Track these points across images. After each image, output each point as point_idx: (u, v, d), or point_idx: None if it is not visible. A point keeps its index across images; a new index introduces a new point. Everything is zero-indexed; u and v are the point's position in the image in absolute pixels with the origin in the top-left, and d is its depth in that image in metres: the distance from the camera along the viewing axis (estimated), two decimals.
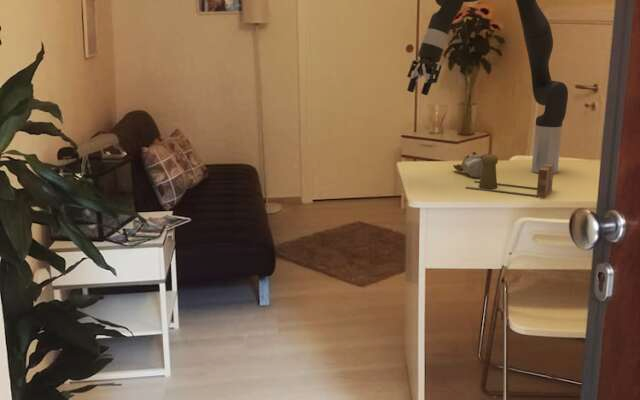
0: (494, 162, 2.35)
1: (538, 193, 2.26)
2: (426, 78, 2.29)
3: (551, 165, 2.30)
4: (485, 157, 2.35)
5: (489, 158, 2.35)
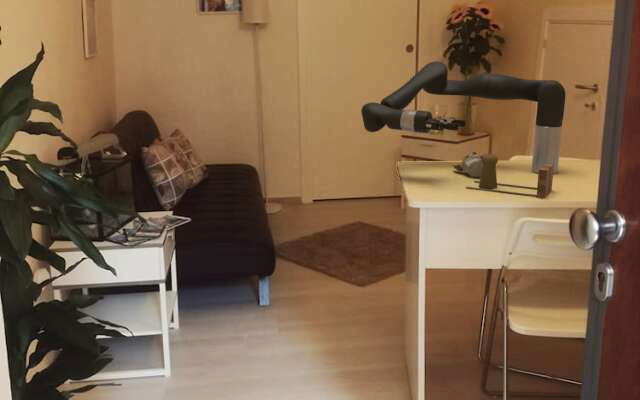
0: (494, 162, 2.35)
1: (538, 193, 2.26)
2: (451, 119, 2.44)
3: (551, 165, 2.30)
4: (485, 157, 2.35)
5: (489, 158, 2.34)
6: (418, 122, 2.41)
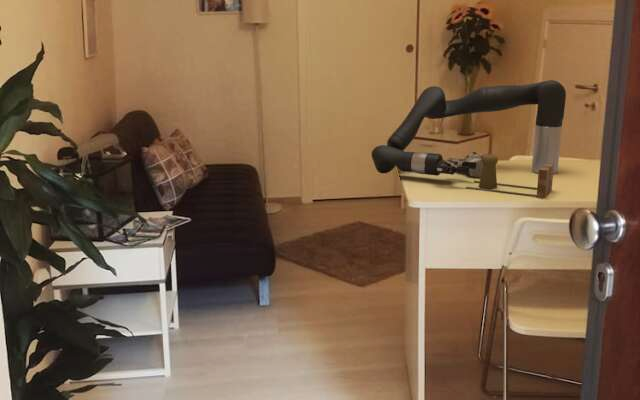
0: (494, 162, 2.35)
1: (538, 193, 2.26)
2: (462, 160, 2.46)
3: (551, 165, 2.30)
4: (485, 157, 2.35)
5: (489, 158, 2.35)
6: (429, 165, 2.43)
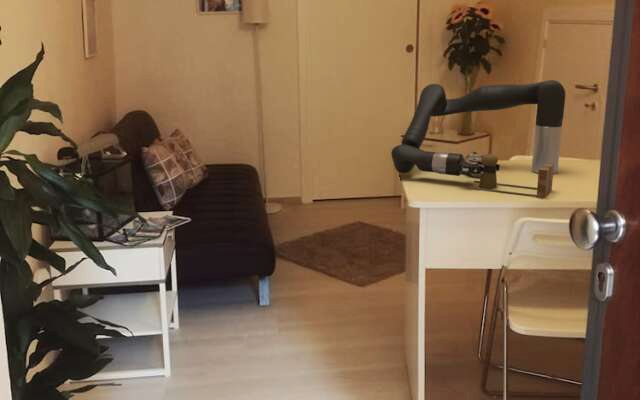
0: (494, 162, 2.35)
1: (538, 193, 2.26)
2: None
3: (551, 165, 2.30)
4: (485, 157, 2.35)
5: (489, 158, 2.34)
6: (450, 165, 2.40)
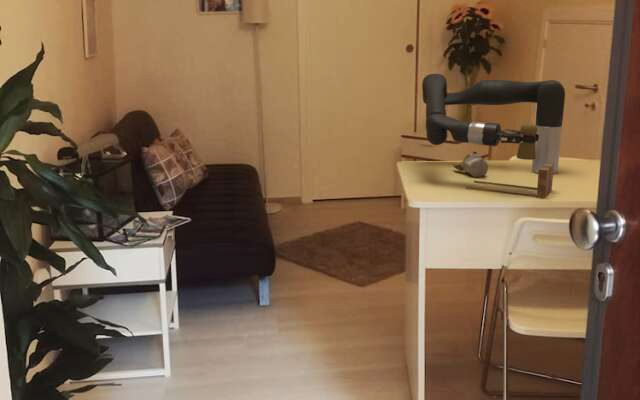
0: (534, 131, 2.27)
1: (538, 193, 2.26)
2: None
3: (551, 165, 2.30)
4: (524, 126, 2.27)
5: (529, 127, 2.26)
6: (488, 134, 2.31)
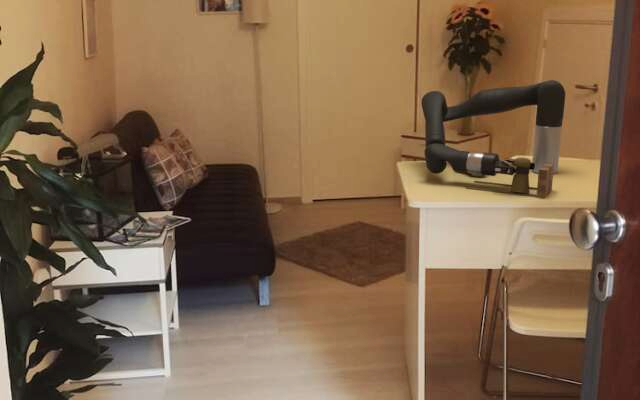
0: (527, 164, 2.28)
1: (538, 193, 2.26)
2: None
3: (551, 165, 2.30)
4: (518, 159, 2.29)
5: (522, 160, 2.28)
6: (486, 165, 2.34)
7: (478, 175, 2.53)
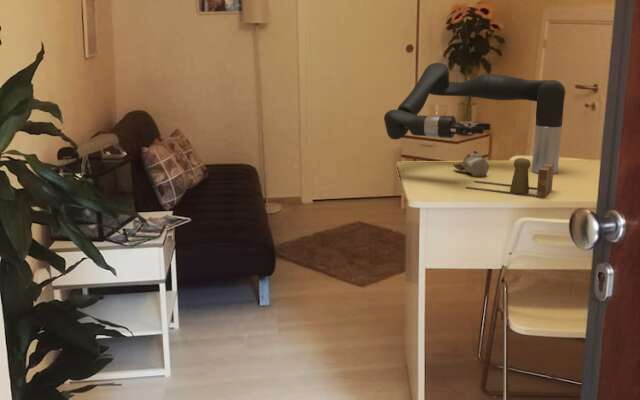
0: (527, 165, 2.28)
1: (538, 193, 2.26)
2: (475, 122, 2.43)
3: (551, 165, 2.30)
4: (517, 160, 2.29)
5: (522, 161, 2.28)
6: (442, 127, 2.40)
7: (478, 175, 2.54)
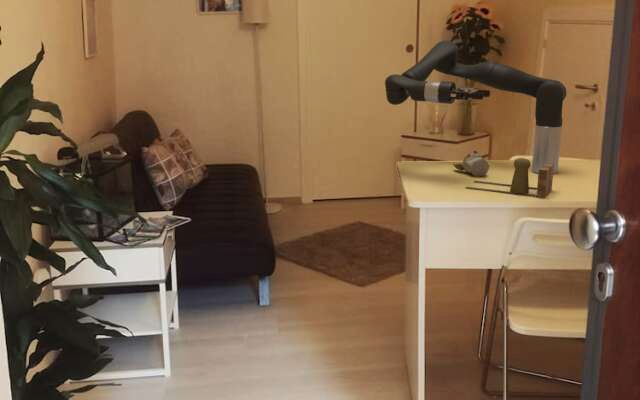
0: (527, 165, 2.28)
1: (538, 193, 2.26)
2: (475, 89, 2.44)
3: (551, 165, 2.30)
4: (517, 160, 2.29)
5: (522, 161, 2.28)
6: (443, 92, 2.42)
7: (479, 175, 2.54)
